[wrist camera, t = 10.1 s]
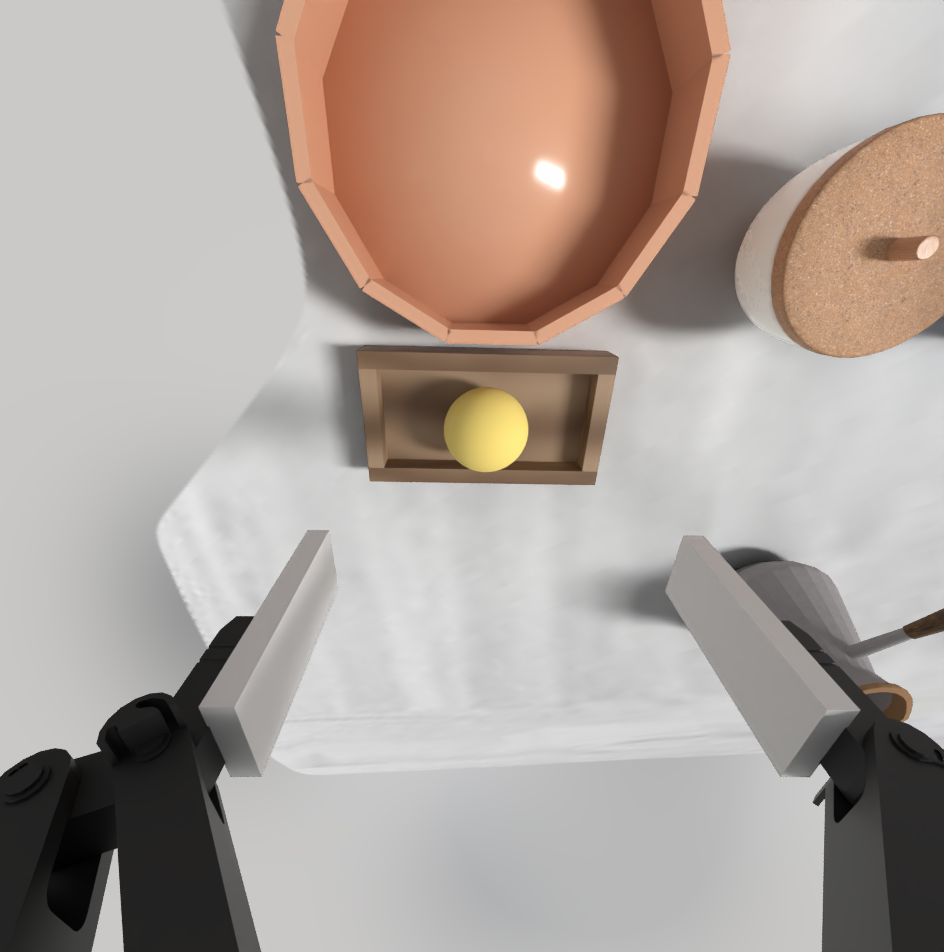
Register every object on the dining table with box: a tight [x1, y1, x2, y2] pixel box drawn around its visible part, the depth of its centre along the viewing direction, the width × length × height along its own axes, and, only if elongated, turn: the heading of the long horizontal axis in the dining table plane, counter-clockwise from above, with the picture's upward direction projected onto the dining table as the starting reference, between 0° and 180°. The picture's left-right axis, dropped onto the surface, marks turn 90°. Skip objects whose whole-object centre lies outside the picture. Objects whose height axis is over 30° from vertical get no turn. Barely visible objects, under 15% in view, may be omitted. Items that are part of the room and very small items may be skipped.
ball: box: [444, 387, 528, 472], centre depth 28 cm, size 6×6×6 cm
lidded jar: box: [735, 113, 944, 358], centre depth 23 cm, size 11×11×9 cm
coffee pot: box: [736, 561, 944, 722], centre depth 32 cm, size 21×12×15 cm, turn 171°
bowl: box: [275, 0, 731, 346], centre depth 22 cm, size 21×21×6 cm
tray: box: [357, 345, 619, 485], centre depth 31 cm, size 10×18×2 cm, turn 89°
